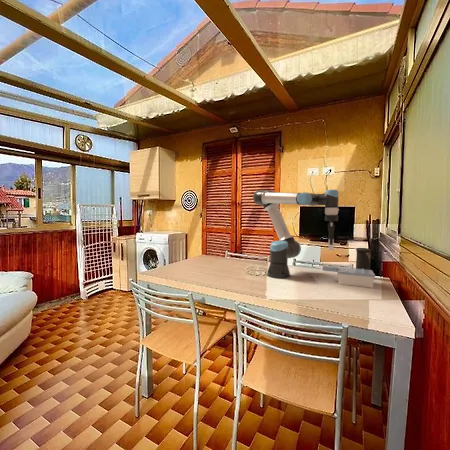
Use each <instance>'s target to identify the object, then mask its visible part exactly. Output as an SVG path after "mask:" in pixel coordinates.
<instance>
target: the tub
mask: <svg viewBox="0 0 450 450" xmlns="http://www.w3.org/2000/svg"><path fill="white" fill-rule="evenodd" d="M374 279H375V277H368V276H357V275H347V274H338V273H337V282H338V283H337V284H339V285H346V286H355V287H363V288H372V289H373V288H374Z"/></svg>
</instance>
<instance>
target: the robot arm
mask: <svg viewBox="0 0 450 450" xmlns="http://www.w3.org/2000/svg"><path fill="white" fill-rule="evenodd" d="M252 195H253V196H252V200H253V202H254V203H255V205H258V206H263V207H262V208H263V210H265V211H267V214H268V215H269V219H270V220H271V223H272V226H273V228H274V231H275V232H276V235H277V237H278V240H274V241H271V243H270V247H269V251H270V253H269V259H270V260H269V266H268V268H267V271H266V272H267V273H266V276H267V277H269V278H274V279H287V278H290V277H291V272H290V268H289V266H288V261H289V260H288V259H292V258H296V257H298V256H299V255H300V253H301V251H302V247H301V244H300V242H298V241H296V239H295V237H294V236H292V235H291V233H290V231H289V229H288V226H287V224H286V221H285V219H284V217H283V215H282V213H281V210H280V208H279V205H280V204H281V205H282V204H283V205H296V206H297V205H299V206H312V207H315V206H325V207H324V214H325V216H324V221H326V222H328V223H327V227H328V228H327V230H328V237H327V240H328V250H329V251H334V247H335V245H334V242H335V241H334V240H335V239H334V238H335V232H334V231H335V226H336V224H335V222H338V221H339V215H338V214H339V211H340V209H339V191H338V190H337V189H326V190H325V193H311V192H310V193H309V192H304V191H303V192H282V191H281V192H278V191H277V192H276V191H274V190H267V189H258V190H256V191H255V192H254V193H253V194H252Z"/></svg>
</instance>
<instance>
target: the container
mask: <svg viewBox="0 0 450 450" xmlns="http://www.w3.org/2000/svg"><path fill="white" fill-rule="evenodd" d="M355 251H356V261H355V269H362V268H363V269H365V270H371V253H372V249H371V248H367V247H357V248H355Z"/></svg>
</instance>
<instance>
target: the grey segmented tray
mask: <svg viewBox="0 0 450 450" xmlns="http://www.w3.org/2000/svg"><path fill="white" fill-rule="evenodd" d="M322 271H324V272H334V273H337V275H338V274H347V275H357V276H368V277H374V278H375V277H376V274H375V273H374V271H373V270H372V269H370V270H365V269H363V268H362V269H356V267H352V268H351V267H348V266H344V267H341V266H334V265H322Z"/></svg>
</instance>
